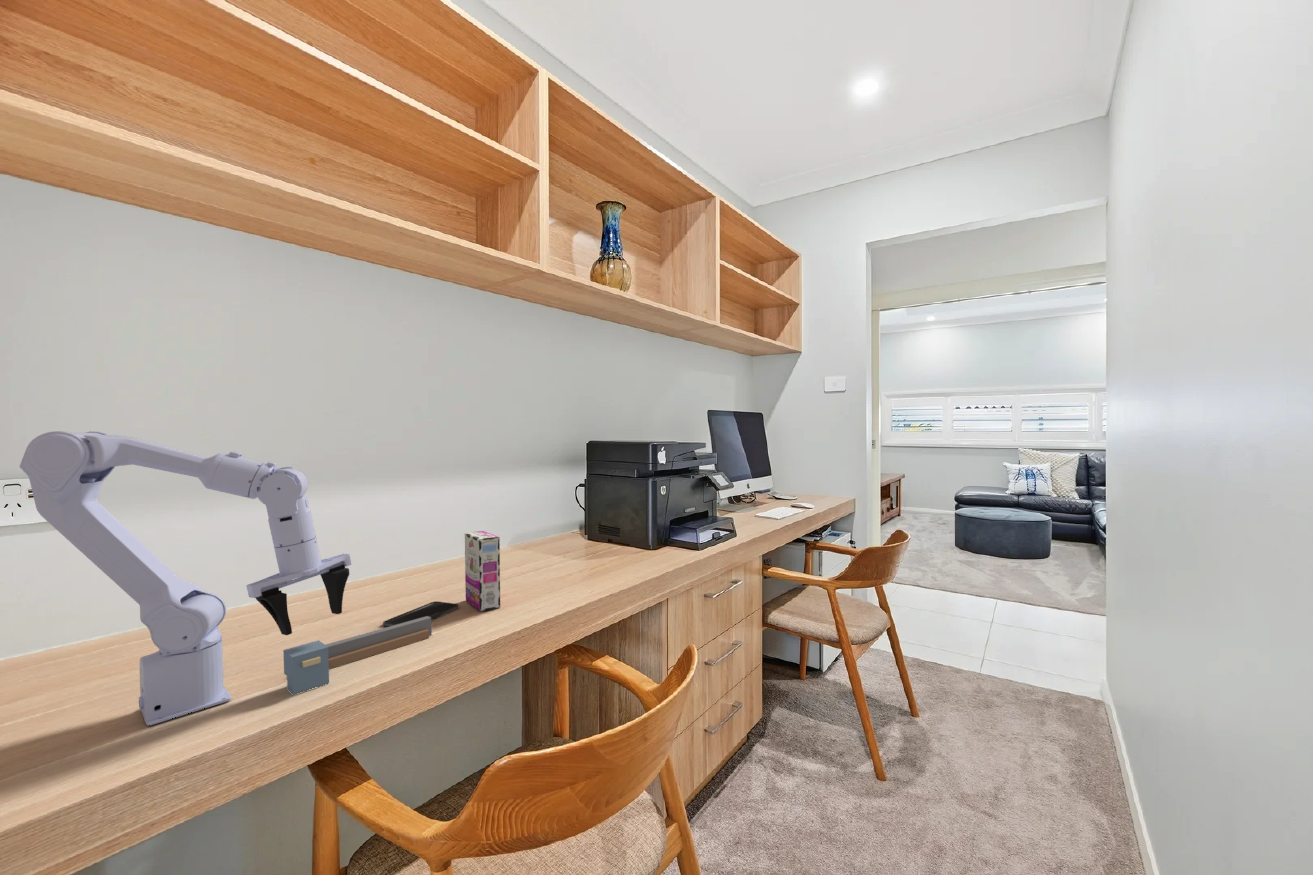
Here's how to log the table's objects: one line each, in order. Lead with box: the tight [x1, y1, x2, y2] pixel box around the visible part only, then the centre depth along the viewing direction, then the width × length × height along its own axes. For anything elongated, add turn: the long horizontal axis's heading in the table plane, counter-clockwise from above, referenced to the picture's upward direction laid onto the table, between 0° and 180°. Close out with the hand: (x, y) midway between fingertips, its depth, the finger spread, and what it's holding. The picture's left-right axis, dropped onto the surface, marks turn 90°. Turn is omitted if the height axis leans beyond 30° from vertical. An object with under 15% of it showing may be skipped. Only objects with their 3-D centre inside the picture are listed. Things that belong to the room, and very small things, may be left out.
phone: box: [382, 601, 459, 628], centre depth 118 cm, size 8×1×15 cm
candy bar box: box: [464, 530, 501, 612], centre depth 126 cm, size 11×5×16 cm, turn 37°
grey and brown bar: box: [325, 616, 433, 670], centre depth 99 cm, size 20×3×4 cm, turn 139°
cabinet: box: [282, 640, 330, 696], centre depth 86 cm, size 5×5×6 cm
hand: (312, 623), depth 87 cm, fingers open, 7 cm apart
